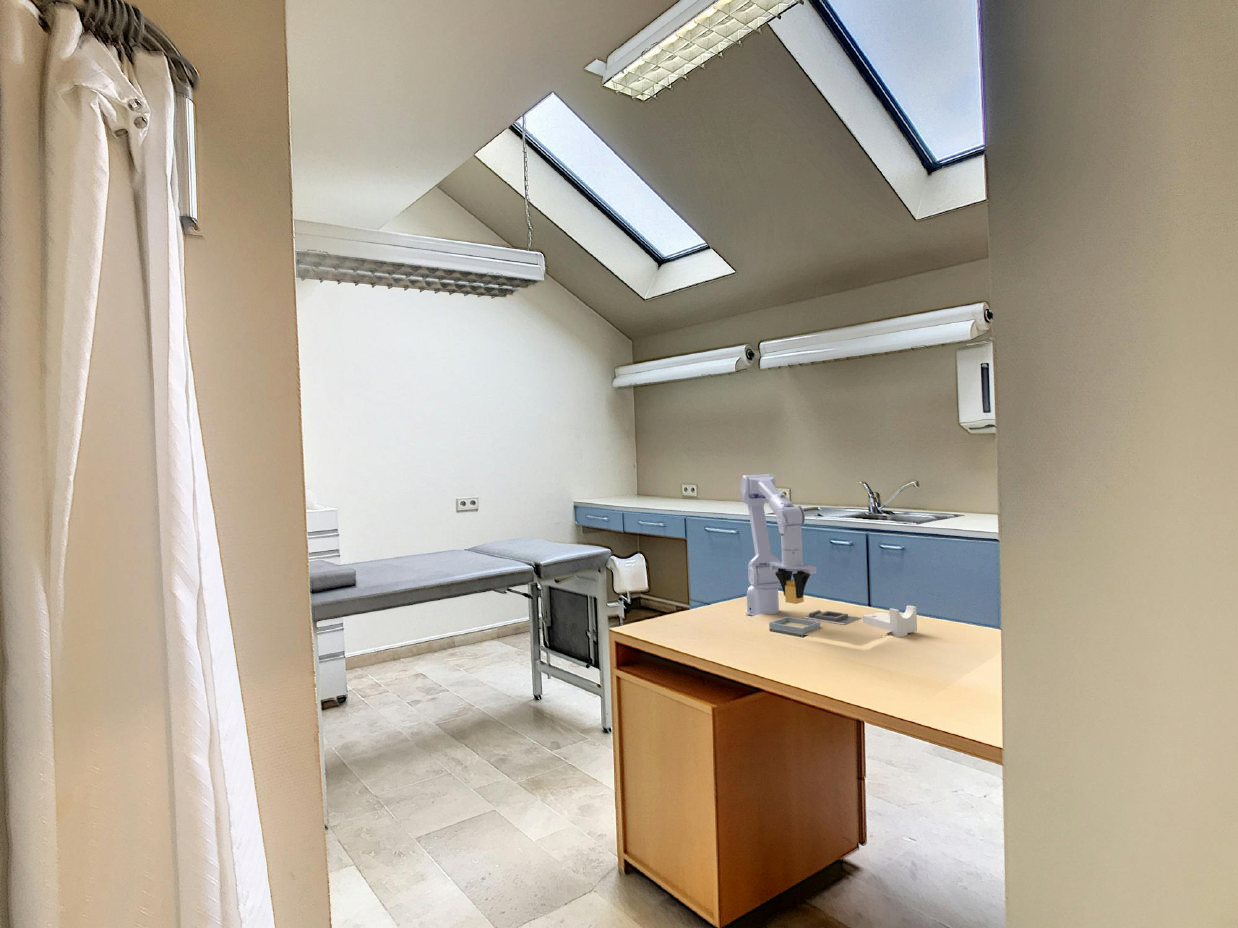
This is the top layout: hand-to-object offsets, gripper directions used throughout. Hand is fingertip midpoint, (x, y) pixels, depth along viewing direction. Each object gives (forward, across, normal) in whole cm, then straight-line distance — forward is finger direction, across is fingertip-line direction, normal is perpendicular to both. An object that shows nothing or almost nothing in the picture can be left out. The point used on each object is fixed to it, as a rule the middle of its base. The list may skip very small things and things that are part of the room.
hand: (793, 596), depth 202 cm
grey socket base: (+10, -2, -15) cm, 18 cm away
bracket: (+10, -19, -18) cm, 28 cm away
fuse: (+2, 0, 0) cm, 2 cm away
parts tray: (+10, 0, 0) cm, 10 cm away
